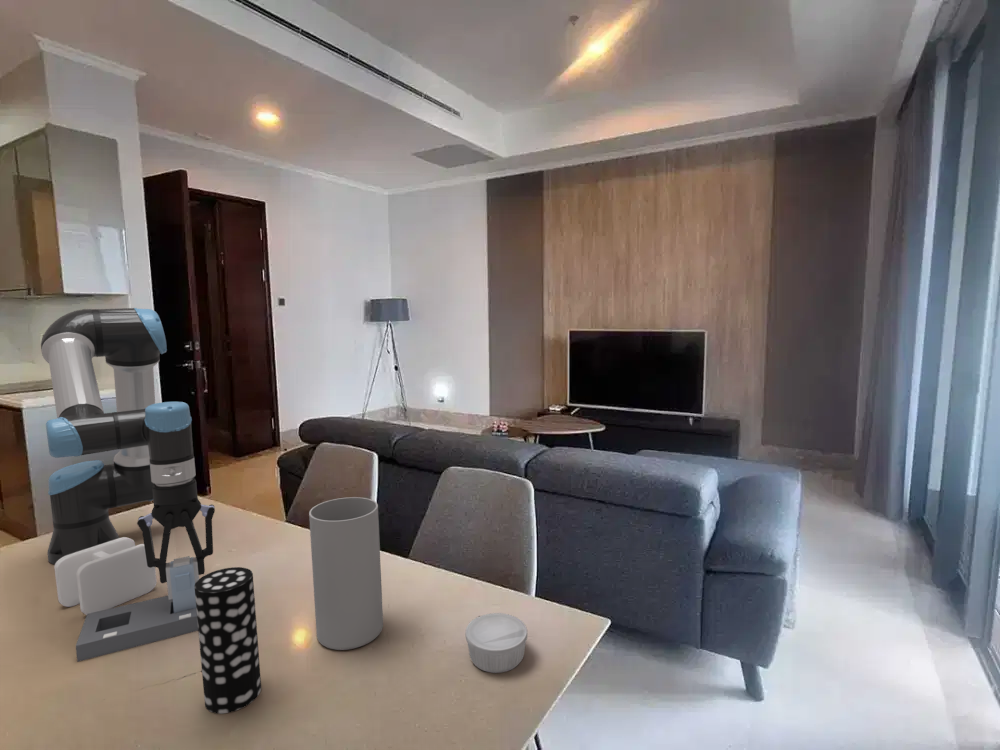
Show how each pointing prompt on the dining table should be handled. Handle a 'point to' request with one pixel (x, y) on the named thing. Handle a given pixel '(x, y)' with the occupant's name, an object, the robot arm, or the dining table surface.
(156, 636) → the socket panel
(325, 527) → the cylinder vase
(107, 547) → the cable organizer
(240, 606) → the spotted tube
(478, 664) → the ramekin
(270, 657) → the dining table surface
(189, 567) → the plug
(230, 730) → the dining table surface
